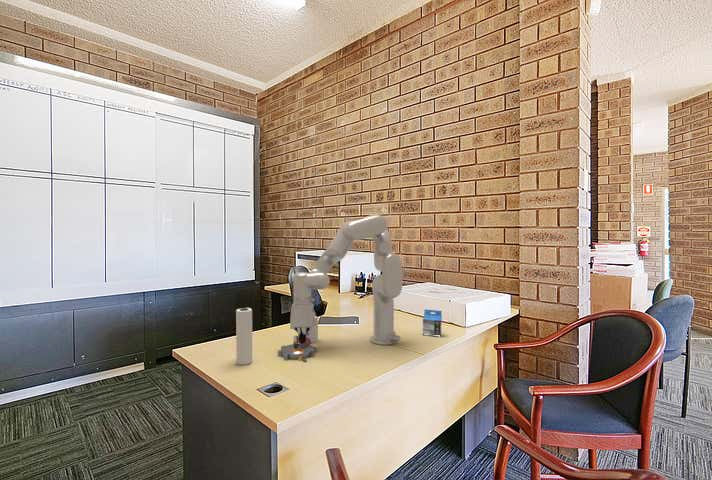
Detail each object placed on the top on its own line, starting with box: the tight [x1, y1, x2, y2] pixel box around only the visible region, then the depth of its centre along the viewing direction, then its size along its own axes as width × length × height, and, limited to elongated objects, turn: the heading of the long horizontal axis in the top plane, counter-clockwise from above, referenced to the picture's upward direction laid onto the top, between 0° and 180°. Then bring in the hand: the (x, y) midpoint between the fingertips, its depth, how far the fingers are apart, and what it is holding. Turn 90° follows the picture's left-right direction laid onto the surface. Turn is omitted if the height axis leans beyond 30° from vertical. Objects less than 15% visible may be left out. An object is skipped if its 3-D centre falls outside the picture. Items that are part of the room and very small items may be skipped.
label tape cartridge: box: [422, 309, 443, 336], centre depth 179 cm, size 9×4×12 cm, turn 68°
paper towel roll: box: [235, 307, 253, 366], centre depth 142 cm, size 7×6×21 cm
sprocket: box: [277, 335, 318, 362], centre depth 152 cm, size 16×16×6 cm
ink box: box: [297, 315, 319, 345], centre depth 168 cm, size 9×5×12 cm, turn 136°
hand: (302, 342), depth 156 cm, fingers closed
